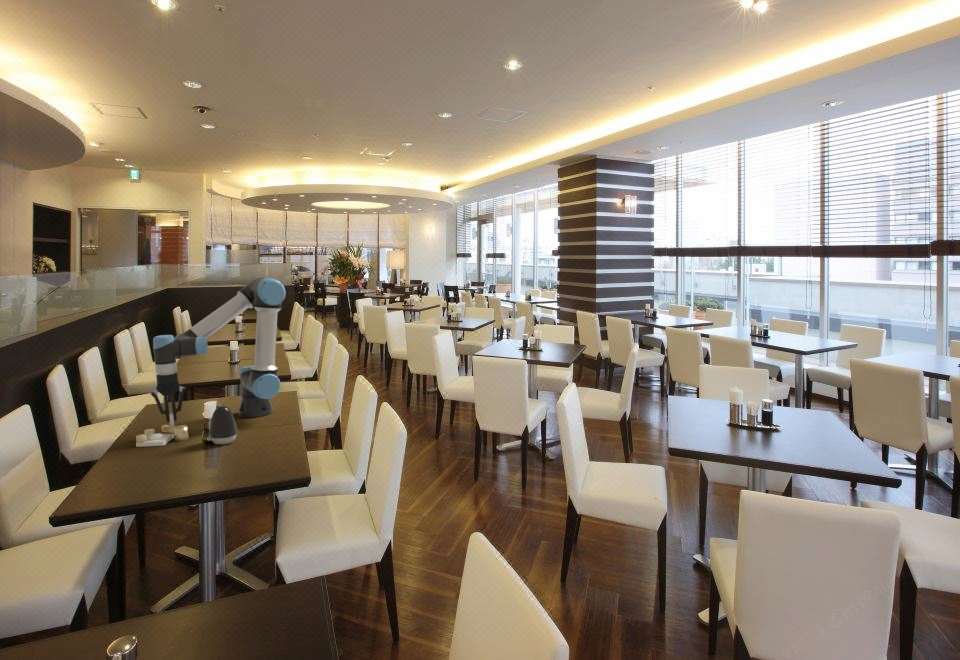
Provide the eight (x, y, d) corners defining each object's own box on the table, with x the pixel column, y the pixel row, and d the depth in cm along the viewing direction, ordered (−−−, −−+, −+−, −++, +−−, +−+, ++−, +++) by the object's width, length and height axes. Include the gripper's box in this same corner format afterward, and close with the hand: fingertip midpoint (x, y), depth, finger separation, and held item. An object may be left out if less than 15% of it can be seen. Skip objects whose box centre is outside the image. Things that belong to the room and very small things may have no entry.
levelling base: (177, 435, 226) (177, 425, 225) (163, 446, 212) (162, 436, 211) (151, 436, 224) (150, 426, 224) (135, 448, 210) (134, 437, 210)
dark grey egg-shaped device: (232, 436, 224) (229, 401, 222) (242, 442, 216) (239, 405, 214) (206, 442, 217) (203, 405, 215) (215, 449, 209) (212, 411, 207)
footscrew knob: (191, 437, 221) (190, 425, 221) (181, 441, 217) (180, 429, 216) (169, 434, 225) (168, 423, 225) (158, 438, 220) (157, 426, 220)
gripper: (183, 369, 227) (189, 423, 230) (147, 373, 220) (153, 429, 223) (185, 372, 221) (191, 428, 224) (148, 377, 214) (155, 434, 217)
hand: (172, 428), depth 224 cm, fingers closed
